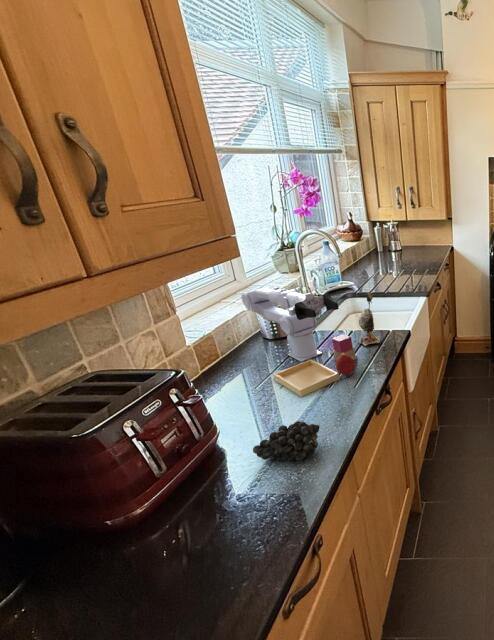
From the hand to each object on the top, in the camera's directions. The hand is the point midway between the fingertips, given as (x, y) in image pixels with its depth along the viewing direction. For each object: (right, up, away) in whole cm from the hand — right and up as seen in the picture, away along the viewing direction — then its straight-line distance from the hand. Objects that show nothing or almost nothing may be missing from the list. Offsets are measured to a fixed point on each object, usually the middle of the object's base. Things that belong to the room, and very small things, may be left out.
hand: (326, 309), depth 125 cm
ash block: (+1, -17, +14) cm, 22 cm away
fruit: (+5, -35, -31) cm, 47 cm away
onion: (+5, -21, +4) cm, 22 cm away
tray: (-7, -22, +2) cm, 23 cm away
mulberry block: (0, -13, +13) cm, 19 cm away
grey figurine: (+4, -11, +29) cm, 32 cm away
